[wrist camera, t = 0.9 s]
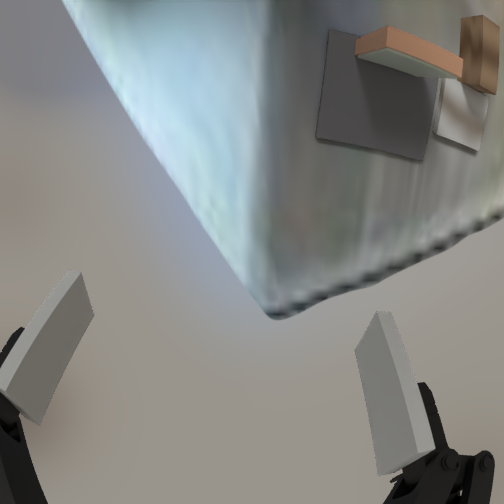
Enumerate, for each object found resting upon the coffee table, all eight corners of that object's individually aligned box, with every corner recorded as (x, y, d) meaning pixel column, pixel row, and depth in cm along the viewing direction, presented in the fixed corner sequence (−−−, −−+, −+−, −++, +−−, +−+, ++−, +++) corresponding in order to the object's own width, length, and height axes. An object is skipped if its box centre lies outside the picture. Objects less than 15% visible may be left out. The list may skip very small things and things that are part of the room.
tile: (356, 39, 23) (387, 25, 15) (419, 60, 23) (463, 59, 15) (354, 57, 24) (385, 49, 16) (417, 77, 24) (461, 80, 16)
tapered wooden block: (445, 10, 18) (467, 5, 14) (489, 36, 18) (511, 36, 14) (432, 132, 28) (453, 141, 24) (474, 149, 28) (496, 160, 24)
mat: (328, 30, 23) (329, 29, 22) (436, 65, 23) (439, 65, 22) (315, 136, 30) (316, 137, 29) (420, 159, 30) (422, 161, 29)
